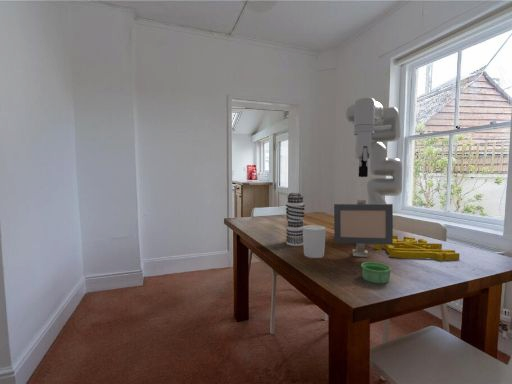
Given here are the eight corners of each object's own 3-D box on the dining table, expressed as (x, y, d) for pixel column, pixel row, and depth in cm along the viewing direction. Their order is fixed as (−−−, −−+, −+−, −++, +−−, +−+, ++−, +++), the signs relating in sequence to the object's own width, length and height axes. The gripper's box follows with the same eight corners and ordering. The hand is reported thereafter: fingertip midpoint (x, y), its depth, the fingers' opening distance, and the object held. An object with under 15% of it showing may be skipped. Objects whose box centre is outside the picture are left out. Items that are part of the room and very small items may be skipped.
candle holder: (300, 257, 110) (300, 228, 110) (304, 250, 120) (304, 224, 119) (324, 259, 107) (324, 230, 106) (326, 253, 116) (327, 225, 115)
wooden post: (352, 253, 116) (353, 199, 114) (367, 254, 114) (368, 199, 113) (353, 256, 112) (354, 200, 110) (368, 257, 110) (370, 200, 108)
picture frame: (334, 241, 113) (334, 204, 112) (391, 243, 107) (391, 204, 106) (334, 242, 111) (334, 204, 110) (392, 244, 106) (392, 204, 105)
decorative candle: (303, 246, 127) (303, 194, 125) (283, 245, 130) (283, 193, 128) (305, 242, 135) (306, 192, 133) (287, 240, 138) (287, 192, 136)
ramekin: (391, 286, 82) (392, 272, 81) (360, 282, 85) (360, 268, 85) (390, 276, 90) (390, 263, 90) (361, 272, 93) (361, 260, 93)
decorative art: (365, 233, 142) (428, 236, 136) (365, 239, 142) (428, 241, 136) (382, 252, 109) (465, 256, 103) (382, 258, 109) (465, 263, 103)
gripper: (352, 133, 114) (351, 176, 116) (355, 128, 100) (354, 177, 101) (371, 133, 112) (370, 176, 114) (377, 127, 98) (376, 177, 99)
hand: (363, 176), depth 108 cm, fingers closed
